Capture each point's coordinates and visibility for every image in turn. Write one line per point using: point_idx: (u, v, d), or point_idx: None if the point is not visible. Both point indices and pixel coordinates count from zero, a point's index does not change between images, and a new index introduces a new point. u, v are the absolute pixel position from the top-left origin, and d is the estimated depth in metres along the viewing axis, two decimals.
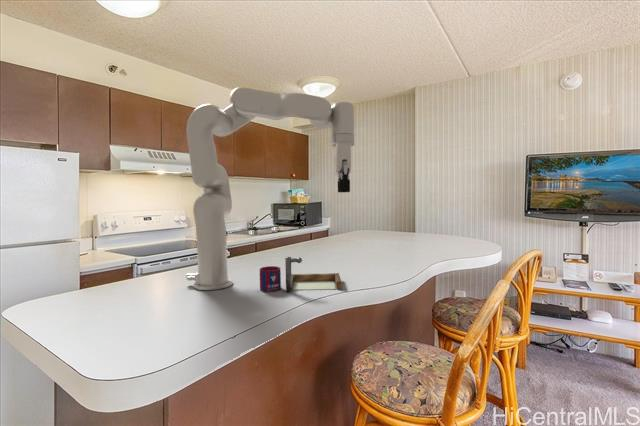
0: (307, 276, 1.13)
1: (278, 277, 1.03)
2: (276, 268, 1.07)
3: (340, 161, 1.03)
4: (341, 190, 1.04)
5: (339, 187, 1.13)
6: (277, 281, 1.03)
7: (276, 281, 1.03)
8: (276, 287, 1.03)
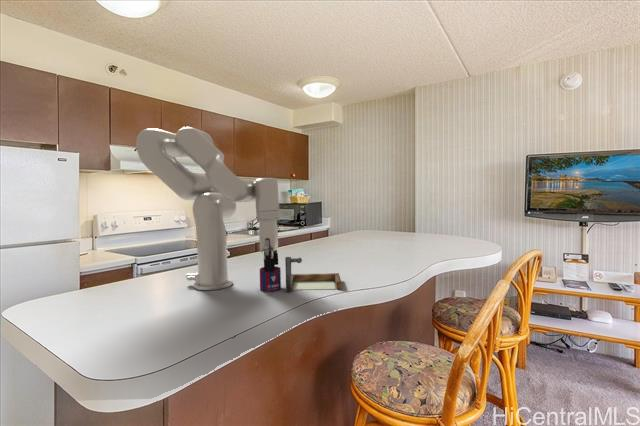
0: (307, 276, 1.13)
1: (278, 277, 1.03)
2: (276, 268, 1.07)
3: (263, 240, 1.00)
4: (265, 270, 1.01)
5: None
6: (277, 281, 1.03)
7: (276, 281, 1.03)
8: (276, 287, 1.03)
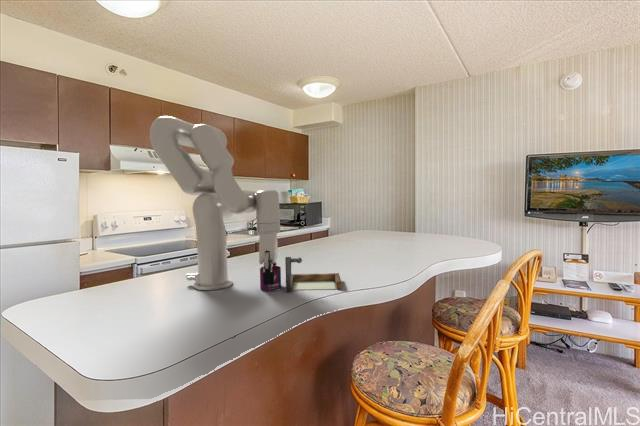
0: (307, 276, 1.13)
1: (278, 276, 1.04)
2: (276, 267, 1.08)
3: (262, 252, 1.01)
4: (265, 282, 1.02)
5: None
6: (278, 280, 1.04)
7: (276, 281, 1.03)
8: (276, 286, 1.03)
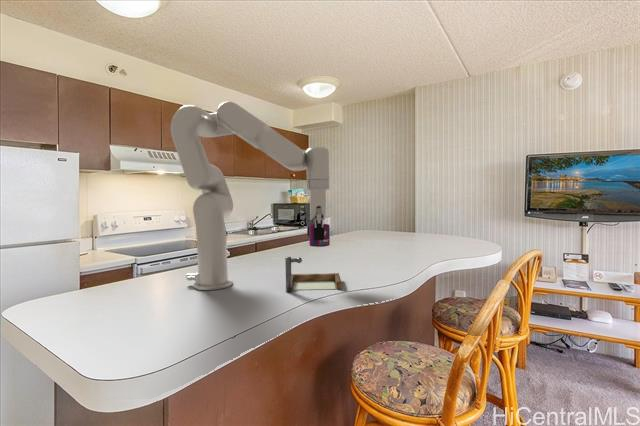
0: (307, 276, 1.13)
1: (328, 233, 1.05)
2: (324, 225, 1.09)
3: (314, 208, 1.02)
4: (315, 238, 1.03)
5: None
6: (327, 236, 1.05)
7: (326, 237, 1.05)
8: (326, 242, 1.05)
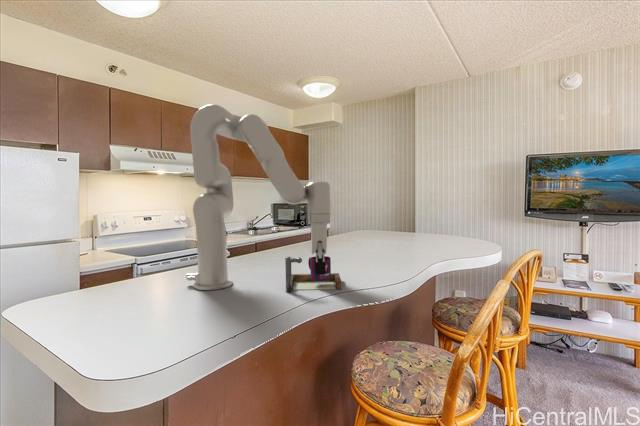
0: (307, 276, 1.13)
1: (329, 266, 1.06)
2: (325, 258, 1.10)
3: (315, 242, 1.02)
4: (316, 272, 1.03)
5: None
6: (329, 269, 1.05)
7: (328, 270, 1.05)
8: (328, 276, 1.05)
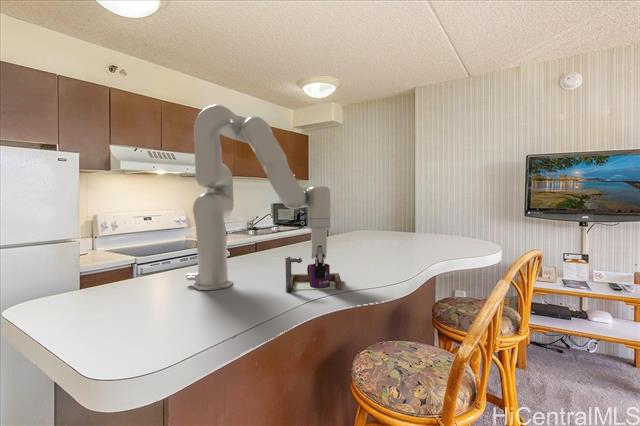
0: (307, 276, 1.13)
1: (328, 273, 1.06)
2: (324, 265, 1.10)
3: (315, 247, 1.02)
4: (316, 276, 1.03)
5: None
6: (328, 277, 1.06)
7: (327, 278, 1.05)
8: (327, 283, 1.05)
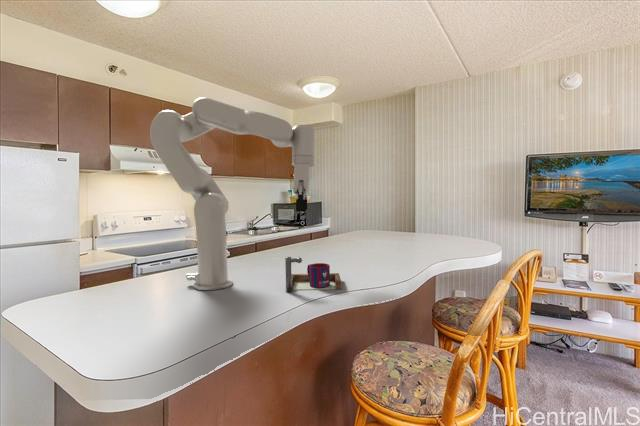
0: (307, 276, 1.13)
1: (328, 273, 1.06)
2: (324, 265, 1.10)
3: (297, 182, 1.08)
4: (297, 209, 1.08)
5: None
6: (328, 277, 1.06)
7: (327, 278, 1.05)
8: (327, 283, 1.05)
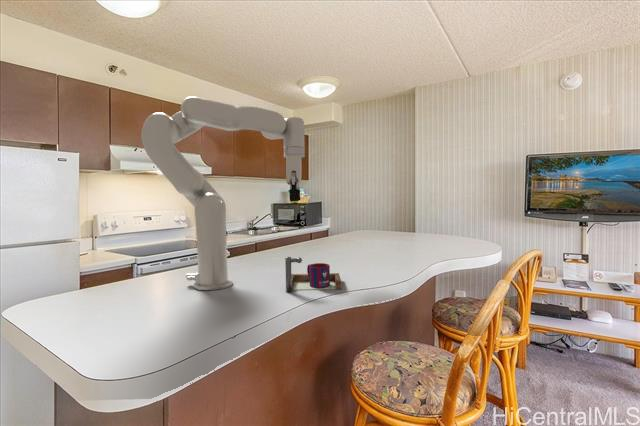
0: (307, 276, 1.13)
1: (328, 273, 1.06)
2: (324, 265, 1.10)
3: (289, 172, 1.11)
4: (290, 199, 1.12)
5: None
6: (328, 277, 1.06)
7: (327, 278, 1.05)
8: (327, 283, 1.05)
